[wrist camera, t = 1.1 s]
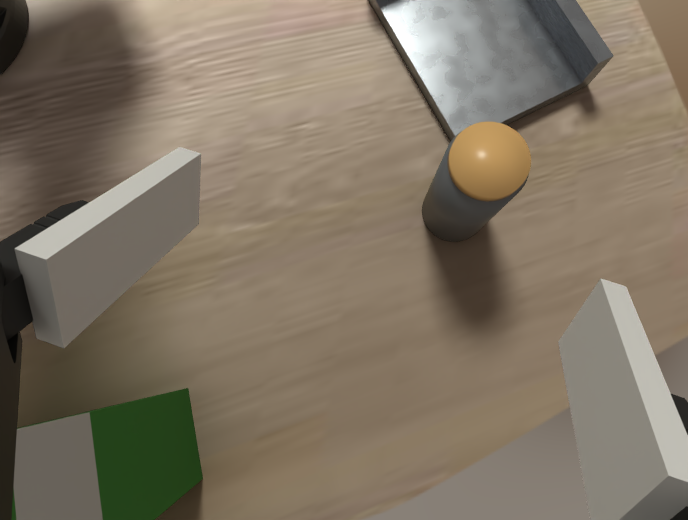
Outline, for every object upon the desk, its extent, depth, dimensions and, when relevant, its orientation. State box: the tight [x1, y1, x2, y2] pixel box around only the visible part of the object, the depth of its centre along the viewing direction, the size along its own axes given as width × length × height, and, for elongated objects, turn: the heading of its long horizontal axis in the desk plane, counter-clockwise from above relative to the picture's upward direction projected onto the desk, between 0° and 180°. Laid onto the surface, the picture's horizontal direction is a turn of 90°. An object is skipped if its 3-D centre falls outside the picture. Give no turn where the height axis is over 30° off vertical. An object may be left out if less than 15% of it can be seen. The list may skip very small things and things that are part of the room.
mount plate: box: [369, 0, 613, 141], centre depth 43 cm, size 18×14×4 cm
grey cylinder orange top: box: [422, 122, 531, 242], centre depth 36 cm, size 6×6×12 cm
